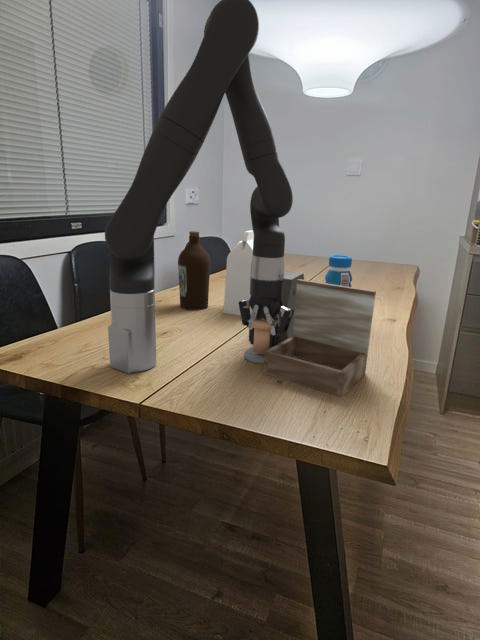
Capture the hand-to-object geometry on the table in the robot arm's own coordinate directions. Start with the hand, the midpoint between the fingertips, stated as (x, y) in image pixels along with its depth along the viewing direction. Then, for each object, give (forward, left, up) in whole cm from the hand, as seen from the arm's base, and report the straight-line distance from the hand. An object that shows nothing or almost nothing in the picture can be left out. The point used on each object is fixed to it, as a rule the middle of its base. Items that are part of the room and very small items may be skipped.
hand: (263, 345), depth 100 cm
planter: (+16, +4, -3) cm, 17 cm away
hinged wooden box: (-1, -14, -3) cm, 14 cm away
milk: (+32, +26, -3) cm, 41 cm away
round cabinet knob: (0, 0, -1) cm, 1 cm away
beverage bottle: (+42, -1, -3) cm, 42 cm away
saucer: (0, 0, -3) cm, 3 cm away
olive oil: (+24, +42, -3) cm, 48 cm away
